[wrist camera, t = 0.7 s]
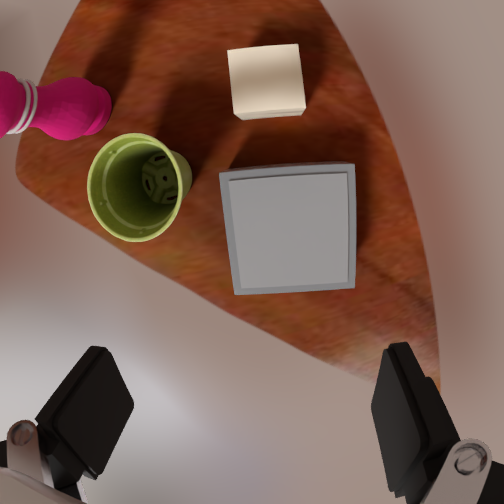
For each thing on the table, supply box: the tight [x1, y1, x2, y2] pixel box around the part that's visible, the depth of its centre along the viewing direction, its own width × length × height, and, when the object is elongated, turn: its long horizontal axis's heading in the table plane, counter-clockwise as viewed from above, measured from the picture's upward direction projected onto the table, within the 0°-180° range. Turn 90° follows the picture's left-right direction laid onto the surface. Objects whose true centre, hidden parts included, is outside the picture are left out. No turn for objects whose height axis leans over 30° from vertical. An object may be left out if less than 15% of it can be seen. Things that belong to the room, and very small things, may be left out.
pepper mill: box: [0, 71, 112, 140], centre depth 20 cm, size 7×7×20 cm
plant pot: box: [87, 133, 192, 242], centre depth 27 cm, size 9×9×9 cm
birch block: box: [227, 44, 306, 120], centre depth 24 cm, size 6×6×6 cm
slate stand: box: [219, 161, 356, 295], centre depth 29 cm, size 12×12×5 cm
